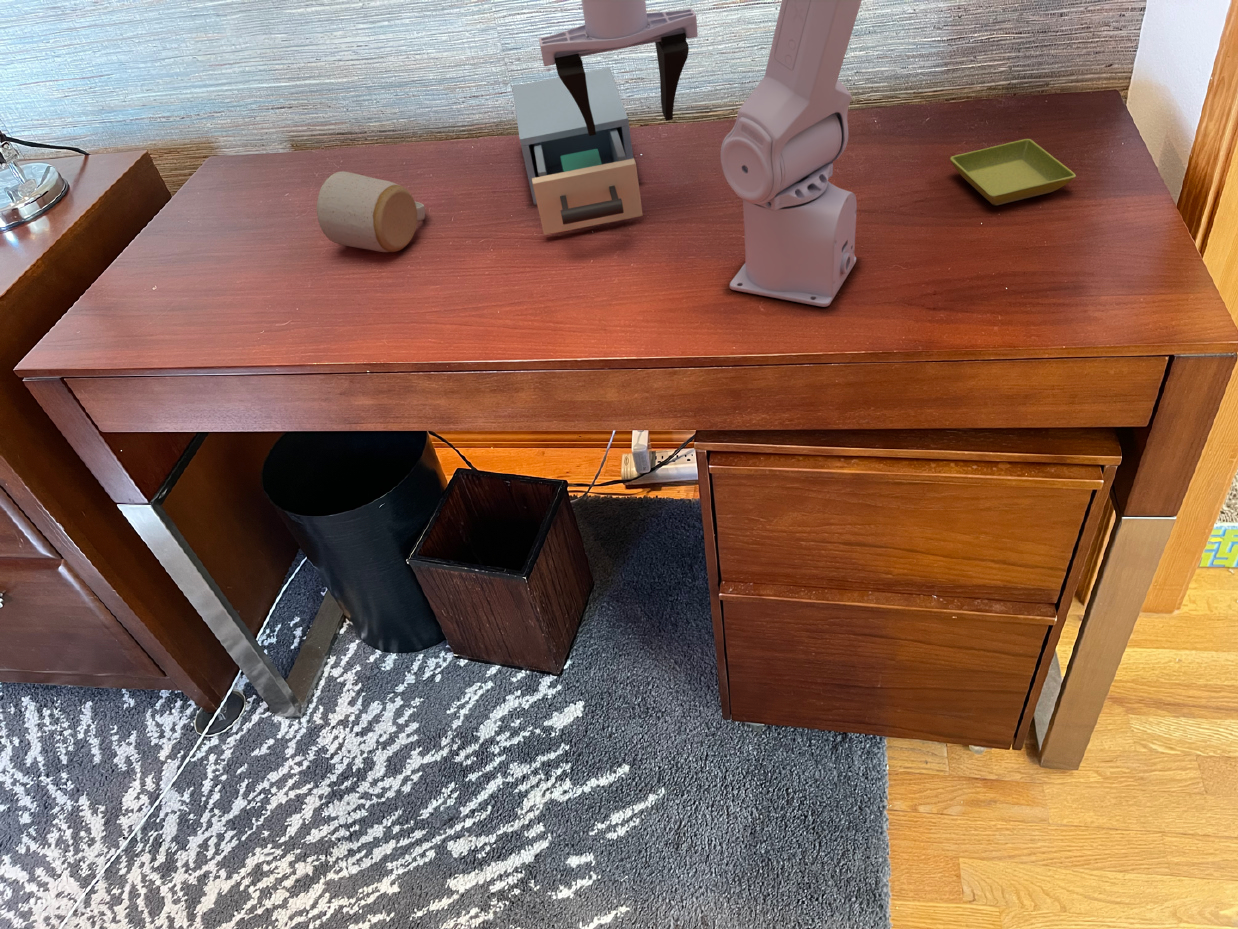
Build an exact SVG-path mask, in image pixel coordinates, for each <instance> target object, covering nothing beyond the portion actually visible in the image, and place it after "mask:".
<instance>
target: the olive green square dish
mask: <svg viewBox="0 0 1238 929" xmlns="http://www.w3.org/2000/svg"><path fill="white" fill-rule="evenodd" d="M949 161H950V162H951V165H952V166H953V167H954V168H955V170H956V171H957V173H958V174H959V175H960V176H961V177H962V178H963V179H964V180H965V181H966V182H967V183H969V185H971V186H972V188H974V189H975V190H976V191H977V192H978V193H979V194H980V195H981V196H983V198H985V199H986V200H987V201H988V202H989V203H990V204H991V205H992V206H996V207H997V206H1000V205H1005V204H1008V203H1013V202H1017V201H1021V200H1025V199H1030V198H1034V197H1038V196H1042V195H1047V194H1051V193H1054V192H1055V191H1057V190H1060V189H1062V188H1063V187H1064V186H1067V184H1069V183H1071V181H1073V180H1074V179H1075V178H1076V177H1077V175H1076V173H1075V172H1074V171H1072V170H1071V169H1070V168H1069V167H1067V166H1066V165H1065V164H1064V163H1062V162H1061V161H1059V160H1058V159H1057V158H1055V157H1054V156H1053V155H1052V154H1050V153H1049V152H1048V151H1046V150H1045V149H1044V148H1043V147H1041V146H1040V145H1039V144H1038V143H1036V142H1035V141H1034V140H1033V139H1031V138H1023V139H1018V140H1015V141H1011V142H1007V143H1003V144H998V145H994V146H990V147H986V148H982V149H977V150H973V151H969V152H964V153H960V154H955V155H952V156H950V157H949Z"/></svg>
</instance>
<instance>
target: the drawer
mask: <svg viewBox="0 0 1238 929" xmlns="http://www.w3.org/2000/svg"><path fill="white" fill-rule="evenodd" d="M533 145H534V151H535V157H536V163H537V169H538V175H539V177H536V178H532V183H533V188H534V192H535V197H536V202H537V204H536V207H537V211H538V214H539V219H540V224H541V228H542V233H543V235H544V236H546V235H552V234H557V233H561V232H567V231H573V230H577V229H582V228H589V227H593V226H599V225H602V224H607V223H608V224H609V223H613V222H619V221H624V220H628V219H633V218H638V217H643V206H642V200H641V193H640V192H641V191H640V185H639V176H638V168H637V163H636V159H635V158H633V159H628V160H626V156H625V153H624V149H623V146H622V143H621V140H620V137H619V134H618V131H617V128H612V129H606V130H601V131H596V135H592V136H589V134H588V133H586V134H581V135H576V136H571V137H565V138H560V139H555V140H550V141H545V142H540V143H535V144H533ZM593 149H598V152H599V155H600V159H601V162H602V165H598V166H592V167H587V168H582V169H577V170H572V171H567V172H563V169H562V163H561V158H560V156H562V155H567V154H572V153H577V152H583V151H588V150H593Z"/></svg>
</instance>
